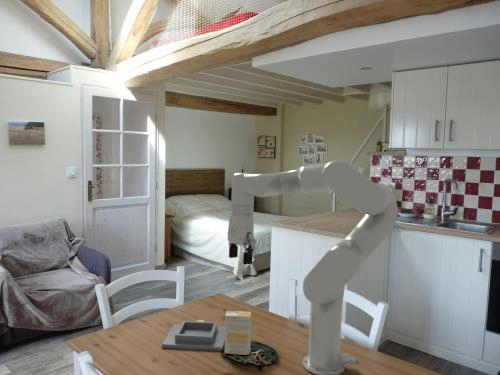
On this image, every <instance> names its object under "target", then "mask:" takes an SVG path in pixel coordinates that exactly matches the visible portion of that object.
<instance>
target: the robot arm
mask: <svg viewBox="0 0 500 375" xmlns="http://www.w3.org/2000/svg"><path fill="white" fill-rule="evenodd" d="M330 191H332V192H333V193H334V194H335V195H336V196H337V197H340V198H341V199H342V200H343V201H344V202H346V203H348V204H349V205H350V206H352V207H353V208H354V209H356V210H357V211H358V212H360V213H362V214H364V216H363V217H362V218H361V219H360V221H359V222H358V223H357V224H356V225H355V227H354V228H352V230H351V232H350V233H348V235H346V236H345V238H344V239H342V240H340V241H339V242H337V243H336V244H335V245H333V246H332V247H331V248H329V249H328V251H327V252H326V253H325V254H324V255H323V256H322V257H321V259H319V261H318V262H317V263H316V264H314V266H313V268H312V269H311V270H310V271H309V272H308V273H307V274H306V276H305V278H304V279H303V281H302V292H303V295H304V296H305V298H306V300H308V301H309V302H310V308H309V330H308V331H309V332H308V334H309V335H308V354H307V355H306V356H304V357H303V359H302V365H303V367H304V368H305V370H306V371H308V372H310V373H312V374H314V375H341V374H343V373H344V372H345V367H346V364H349V365H356V364H357V358H356V357H354V356H351V354H350V353H344V354H343V353H342V352H341V342H342V341H341V338H342V319H343V305H344V304H343V303H344V301H343V300H344V295H345V288H346V285H347V284H348V283H349V282H350V281H351V280H352V279H353V278H354V277H355V276H356V274H358V272H359V271H360V270H361V269H362V268H363V266H364V265H365V264H366V262H367V260H368V259H369V258H370V257H371V255H372V254H373V253H375V251H376V250H377V249H378V248H379V246H380V245H382V243H383V242H384V241H385V240H386V238H387V237H388V236H389V235H390V233H391V232H392V230H393V228H394V227H395V225H396V222H397V218H398V212H399V211H398V204H397V200H396V197H395V194H394V193H393V192H392V190H391V189H390V188H389V187H388V186H387V185H385V184H383V183H378V182H377V183H375V182H373V181H372V180H370V179H368V178H367V177H365V176H364V175H363V174H361V173H360V172H358V169H357V167H356V165H355V164H354V163H352V161H348V160H345V159H333V160H331V161H329V162H322V163H316V164H311V165H303V166H301V167H299V168H297V169H294V170H289V171H281V172H275V173H269V172H268V173H254V174H252V173H249V172H248V173H247V172H236V173H234V174H233V175H232V180H231V201H230V202H231V203H230V215H229V220H228V229H227V240H228V258H230V259H233V258H238V257H239V256H238V255H239V246H240V247H241V246H242V247H243V248H242V249H243V255H242V256H243V257H242V258H243V259H242V264H243V265H246V266H247V265H253V253H254V250H255V249H256V244H257V240H256V238H255V237H254V234H255V232H254V231H255V230H254V229H255V225H254V209H255V208H254V206H255V204H254V203H255V197H256V198H257V197H258V198H267V197H272V196H273V197H274V196H281V195H282V196H283V195H287V194H288V195H289V194H298V193H299V194H300V193H301V194H313V193H315V194H316V193H320V192H321V193H322V192H330Z"/></svg>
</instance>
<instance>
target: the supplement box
mask: <svg viewBox="0 0 500 375" xmlns="http://www.w3.org/2000/svg"><path fill="white" fill-rule="evenodd" d="M224 327H225V343H224V355H225V354H226V353H227V354H228V353H229V354H238V355H249V354H251V350H250V349H251V345H252V344H251V343H252V342H251V340H252V339H251V338H252V336H251V335H252V330H251V329H252V312H251V311H240V310H239V311H238V310H227V311H226V313H225V315H224ZM249 356H250V355H249Z"/></svg>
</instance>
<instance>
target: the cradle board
mask: <svg viewBox="0 0 500 375" xmlns="http://www.w3.org/2000/svg"><path fill="white" fill-rule="evenodd" d="M223 346H224V347H225V325H224V326H222V325H221V326H219V325H218V322H217V321H216V322H214V321H205V320H203V319H197V320H182V322H181V324H180V323H174V324H173V325H172V327H171V328H170V330H169V332H168V333H167V336H166V337H165V339H164V340H163V342H162V343H161V348H162V349H175V350H176V349H179V350H197V351H214V352H215V351H216V352H222V351H221V350H224V347H223Z"/></svg>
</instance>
